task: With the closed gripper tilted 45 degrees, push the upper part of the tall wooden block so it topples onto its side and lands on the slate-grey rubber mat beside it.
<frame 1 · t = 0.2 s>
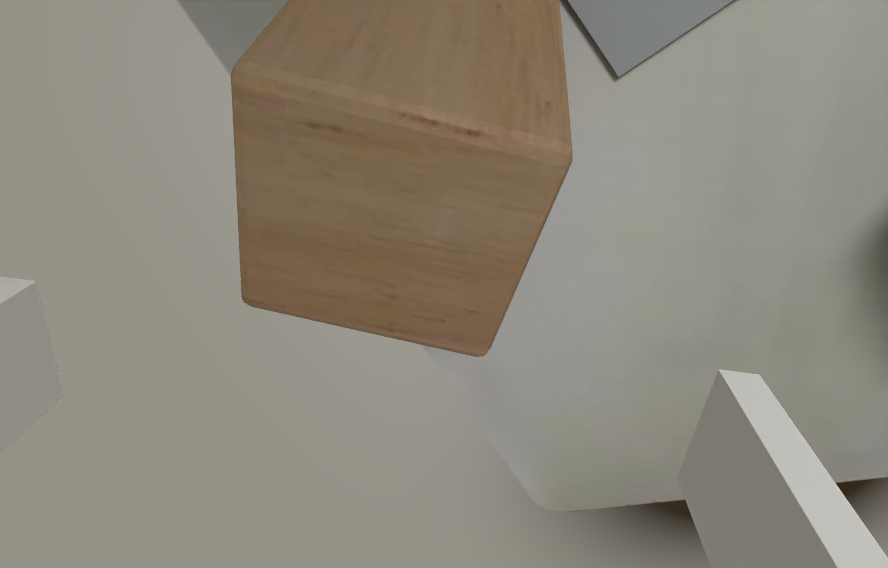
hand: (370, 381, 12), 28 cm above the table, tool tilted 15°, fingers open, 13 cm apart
wooden block: (445, 18, 34), on the table, touching grey mat
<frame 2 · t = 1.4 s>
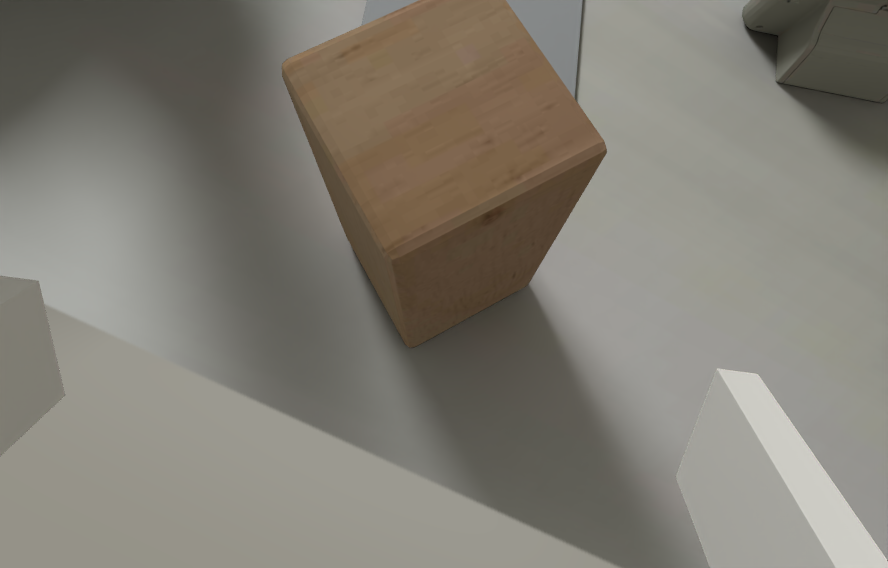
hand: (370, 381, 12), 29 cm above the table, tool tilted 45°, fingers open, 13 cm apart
wooden block: (436, 259, 43), on the table, touching grey mat
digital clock: (827, 54, 50), on the table
grey mat: (465, 66, 48), on the table
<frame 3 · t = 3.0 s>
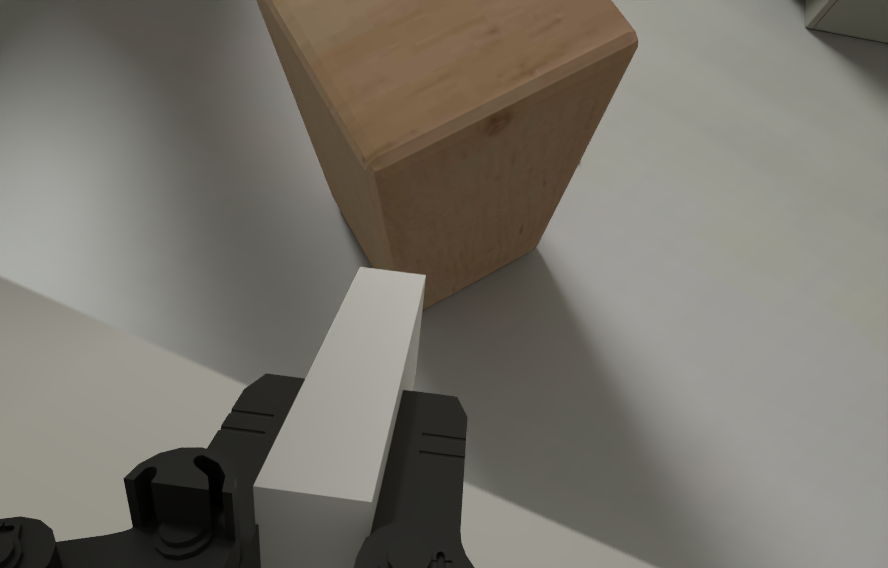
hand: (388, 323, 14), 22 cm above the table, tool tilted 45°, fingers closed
wooden block: (434, 222, 38), on the table, touching grey mat
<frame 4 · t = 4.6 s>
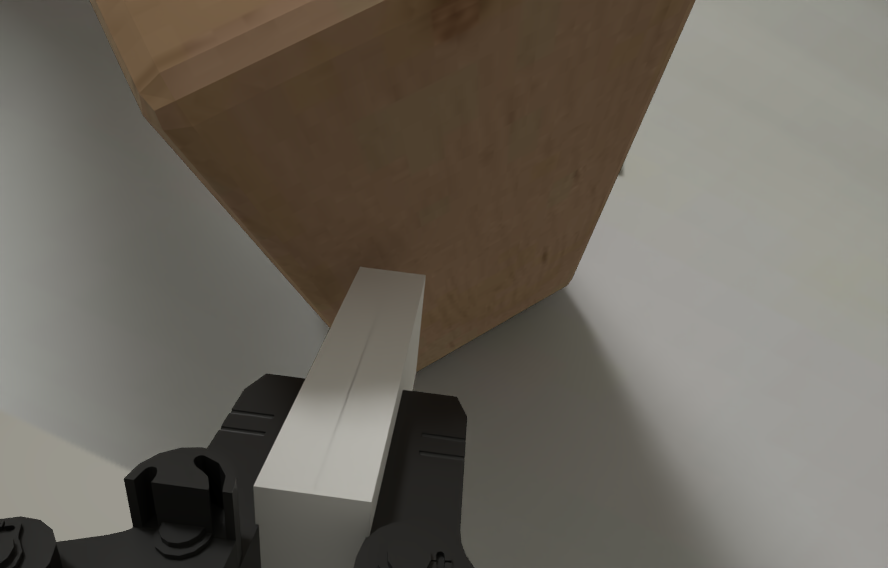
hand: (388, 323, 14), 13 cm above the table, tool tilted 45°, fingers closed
wooden block: (428, 251, 28), on the table, touching grey mat
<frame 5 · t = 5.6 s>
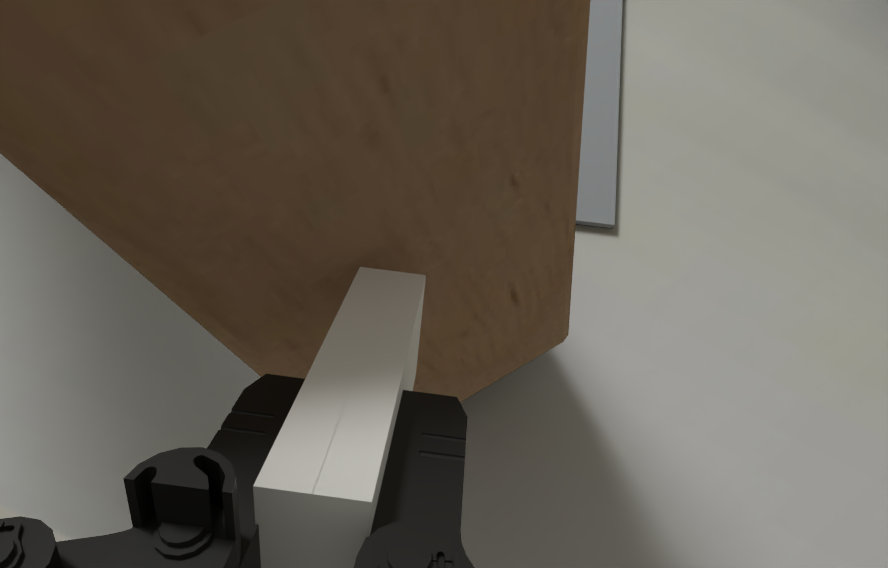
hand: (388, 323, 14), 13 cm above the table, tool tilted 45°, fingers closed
wooden block: (413, 311, 26), point 1 cm above the table, touching grey mat, gripper
grey mat: (458, 30, 33), on the table
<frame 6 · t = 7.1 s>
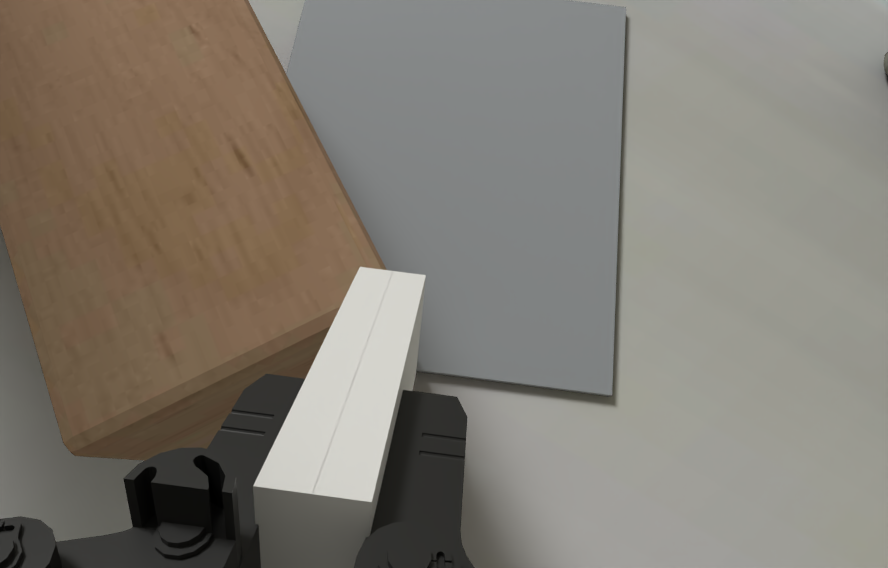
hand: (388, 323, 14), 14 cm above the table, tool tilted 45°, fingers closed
wooden block: (289, 404, 21), point 6 cm above the table, touching grey mat
grey mat: (443, 161, 30), on the table
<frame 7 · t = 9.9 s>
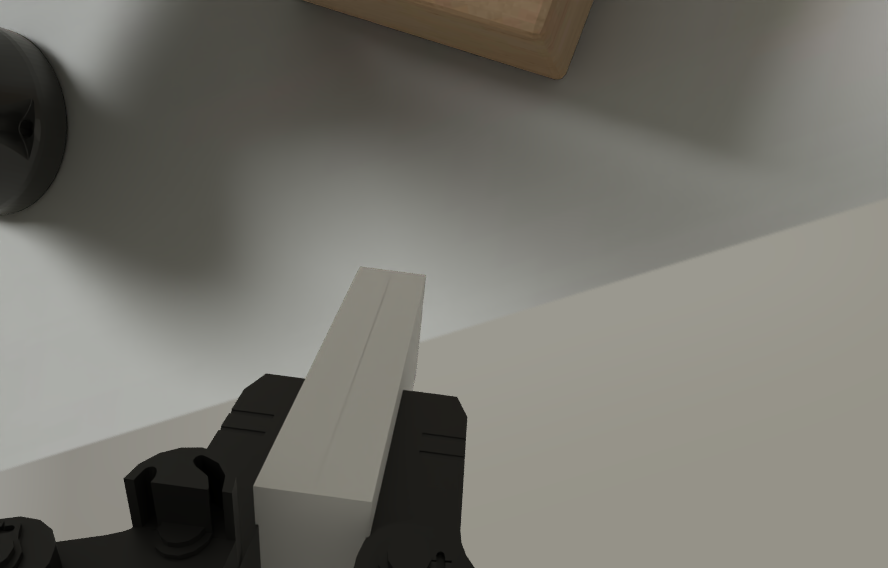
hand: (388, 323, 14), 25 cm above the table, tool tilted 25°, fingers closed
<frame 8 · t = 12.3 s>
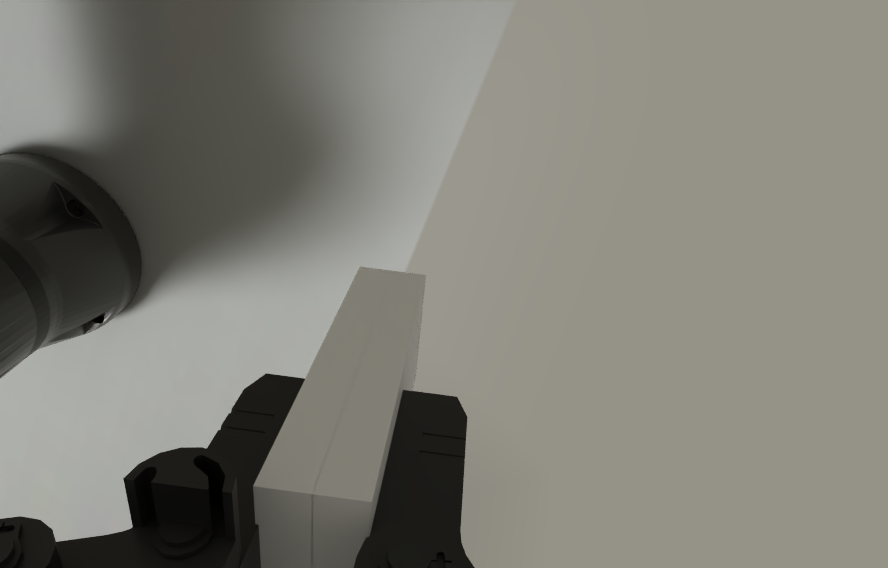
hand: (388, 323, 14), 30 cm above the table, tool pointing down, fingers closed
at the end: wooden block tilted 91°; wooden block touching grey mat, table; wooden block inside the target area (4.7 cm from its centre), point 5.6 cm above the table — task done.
